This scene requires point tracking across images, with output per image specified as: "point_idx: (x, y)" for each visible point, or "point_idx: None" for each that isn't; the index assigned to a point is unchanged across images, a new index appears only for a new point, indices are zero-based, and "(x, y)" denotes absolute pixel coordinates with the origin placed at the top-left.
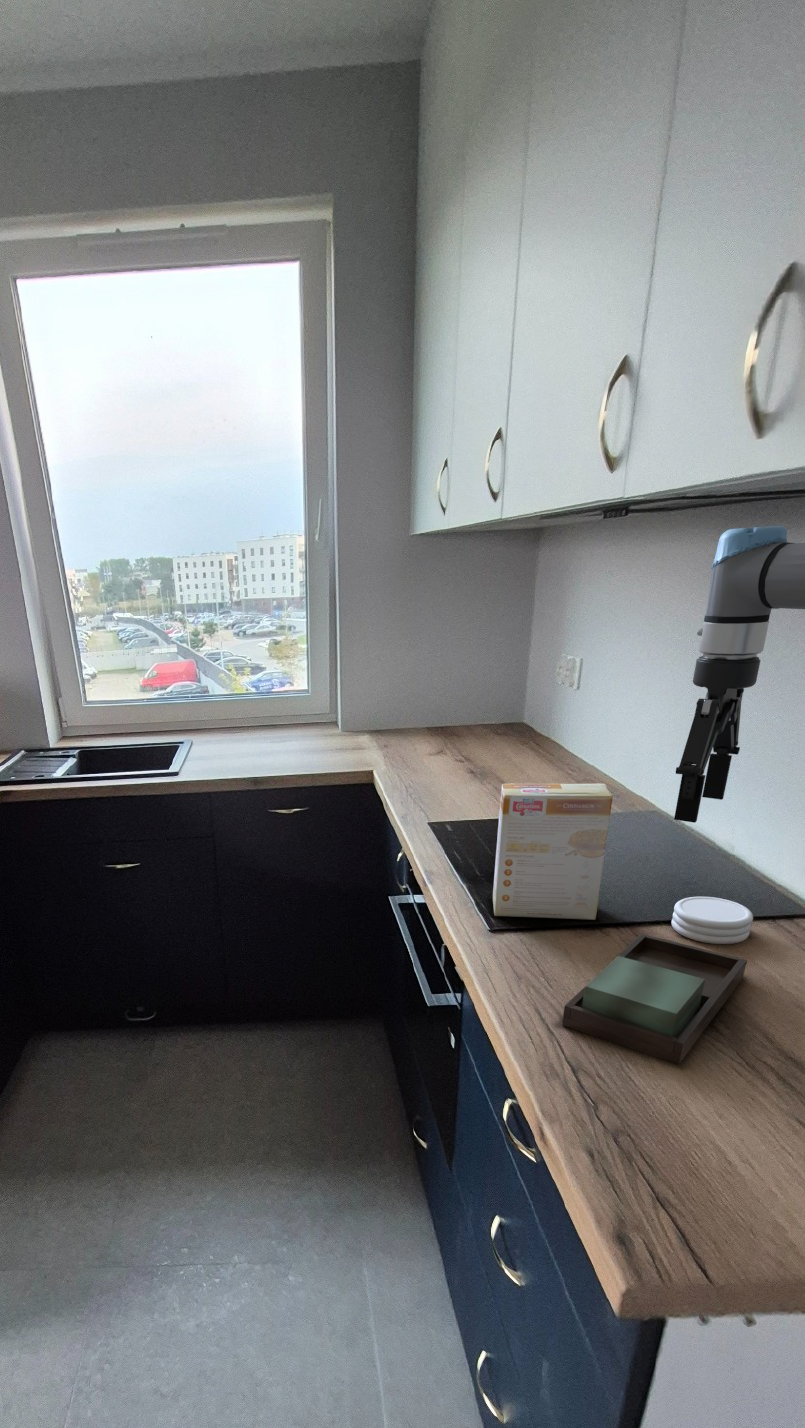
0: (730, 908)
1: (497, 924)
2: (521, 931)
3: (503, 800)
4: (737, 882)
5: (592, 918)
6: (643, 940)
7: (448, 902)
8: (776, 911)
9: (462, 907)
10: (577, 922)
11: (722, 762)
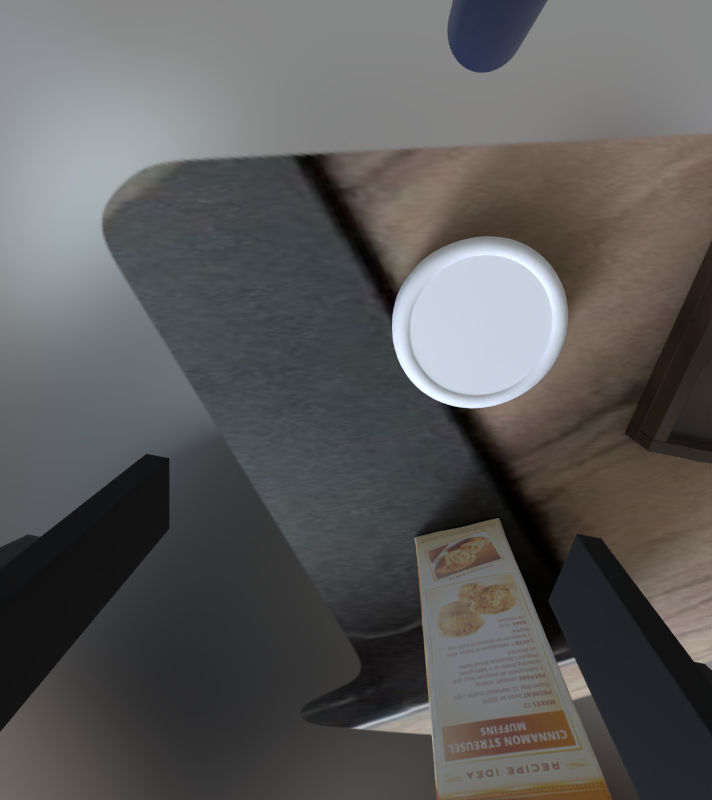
0: (458, 292)
1: None
2: None
3: None
4: (140, 286)
5: (501, 524)
6: (671, 442)
7: None
8: (284, 188)
9: None
10: (516, 540)
11: (19, 632)
